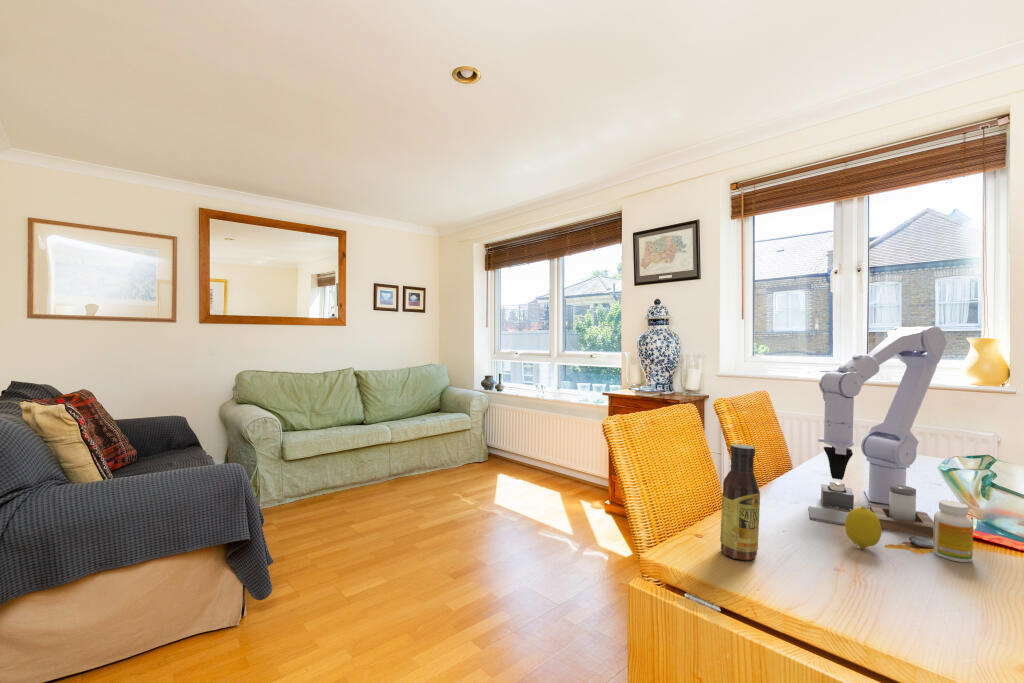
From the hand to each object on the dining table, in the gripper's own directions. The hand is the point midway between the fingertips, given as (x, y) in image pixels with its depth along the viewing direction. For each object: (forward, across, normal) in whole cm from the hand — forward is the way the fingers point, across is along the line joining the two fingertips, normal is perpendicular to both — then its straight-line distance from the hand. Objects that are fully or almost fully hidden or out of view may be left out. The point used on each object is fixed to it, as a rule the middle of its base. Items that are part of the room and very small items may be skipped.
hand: (837, 478), depth 115 cm
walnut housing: (+6, +8, +11) cm, 15 cm away
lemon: (+6, +27, +2) cm, 28 cm away
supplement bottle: (+6, +22, +16) cm, 28 cm away
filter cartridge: (+6, +8, +11) cm, 15 cm away
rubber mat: (+6, +11, -2) cm, 13 cm away
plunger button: (+4, 0, 0) cm, 4 cm away
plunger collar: (+6, 0, 0) cm, 6 cm away
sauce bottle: (+7, +42, -18) cm, 46 cm away
